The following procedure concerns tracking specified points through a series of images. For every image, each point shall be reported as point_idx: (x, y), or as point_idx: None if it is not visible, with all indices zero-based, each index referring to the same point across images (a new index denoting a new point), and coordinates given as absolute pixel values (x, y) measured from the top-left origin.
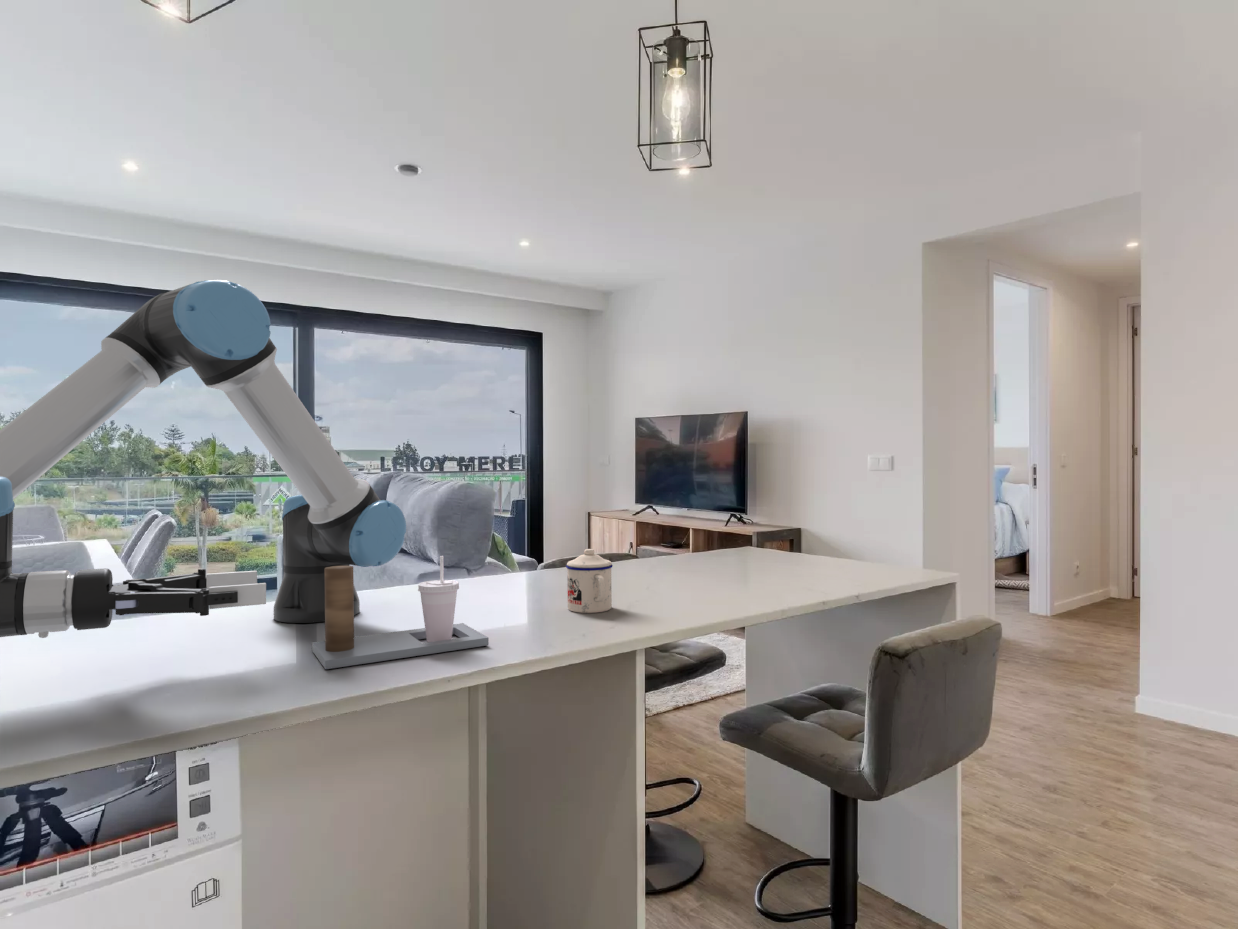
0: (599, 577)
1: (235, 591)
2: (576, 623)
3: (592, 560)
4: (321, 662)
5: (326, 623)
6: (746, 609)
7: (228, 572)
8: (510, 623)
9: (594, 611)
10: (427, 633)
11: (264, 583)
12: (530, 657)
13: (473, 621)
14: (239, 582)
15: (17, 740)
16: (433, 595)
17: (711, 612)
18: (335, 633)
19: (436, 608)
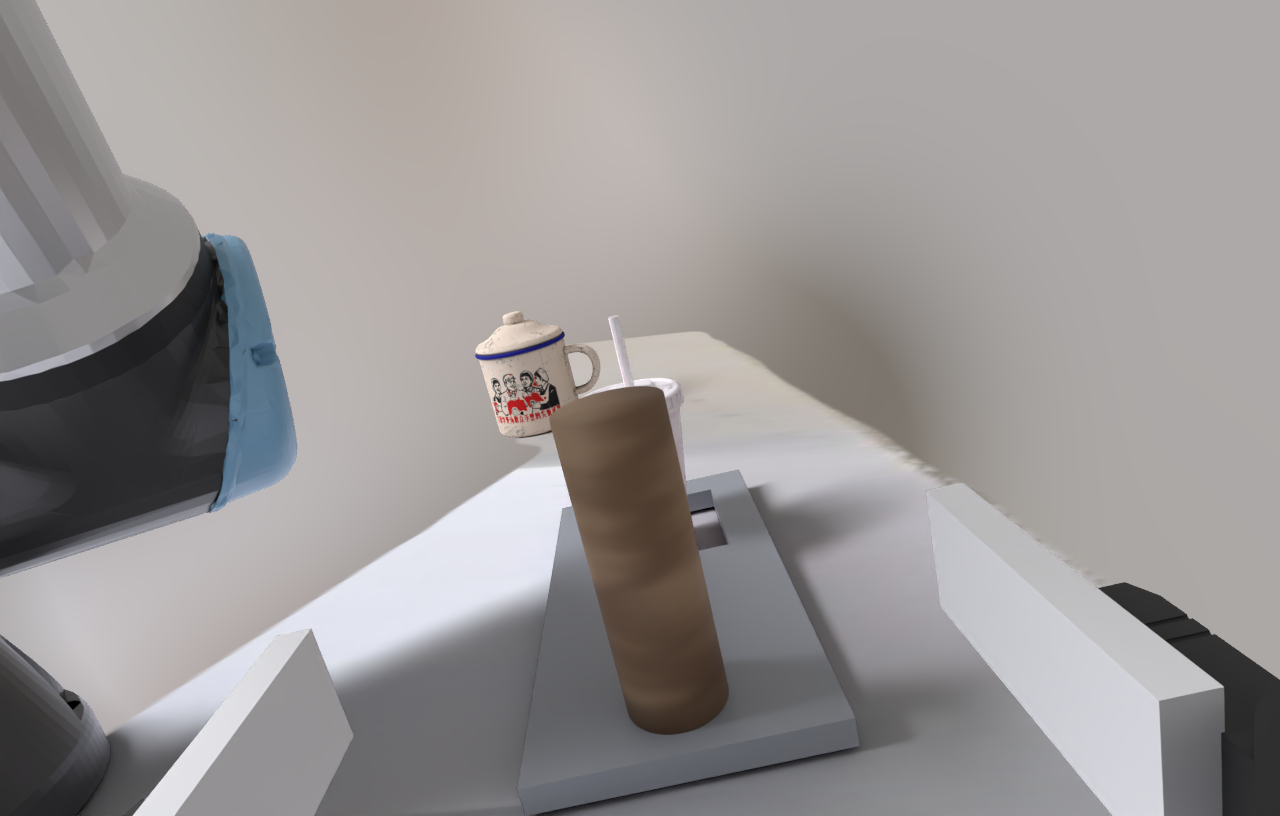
0: (582, 346)
1: (1118, 593)
2: None
3: (540, 326)
4: (768, 760)
5: (675, 633)
6: (682, 341)
7: (171, 768)
8: (559, 480)
9: None
10: None
11: (953, 488)
12: (863, 444)
13: (485, 521)
14: (286, 769)
15: None
16: (672, 418)
17: (675, 354)
18: (713, 641)
19: (680, 451)
